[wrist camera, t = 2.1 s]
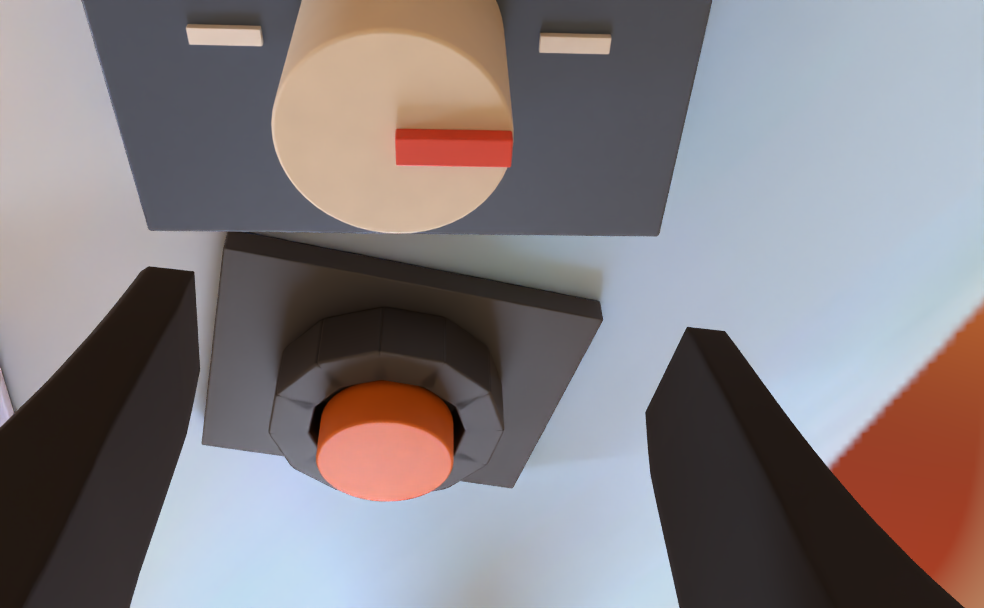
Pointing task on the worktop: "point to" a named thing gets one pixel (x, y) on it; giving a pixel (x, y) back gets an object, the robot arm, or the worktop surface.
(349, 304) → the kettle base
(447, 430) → the button
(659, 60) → the control panel
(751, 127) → the worktop surface
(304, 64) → the knob
